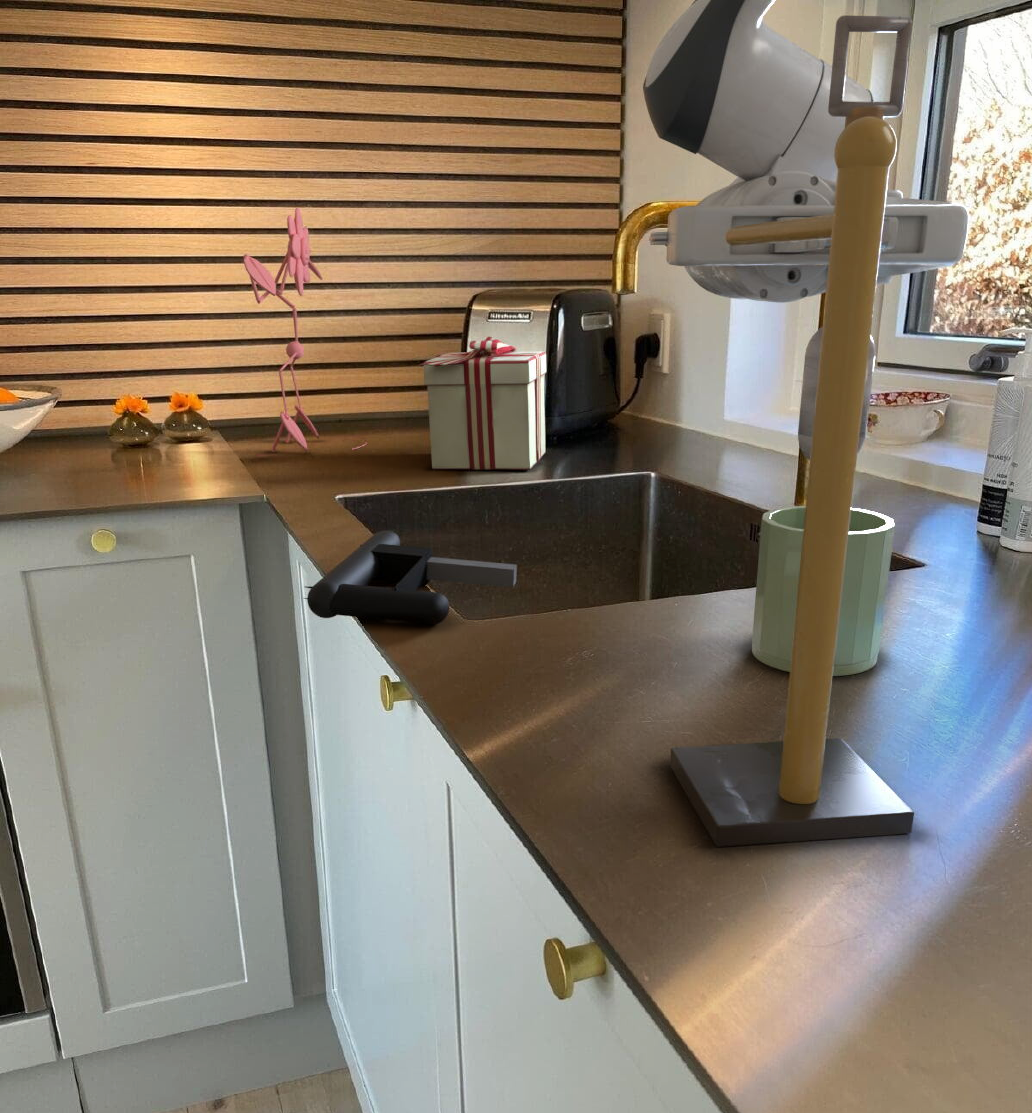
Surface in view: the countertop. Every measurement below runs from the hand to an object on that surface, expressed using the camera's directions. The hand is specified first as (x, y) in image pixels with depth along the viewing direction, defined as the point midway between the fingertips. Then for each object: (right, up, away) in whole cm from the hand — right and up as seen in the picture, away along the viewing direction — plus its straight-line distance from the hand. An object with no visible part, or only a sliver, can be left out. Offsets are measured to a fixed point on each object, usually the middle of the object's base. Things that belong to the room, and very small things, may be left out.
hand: (859, 232), depth 65 cm
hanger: (-8, -32, -4) cm, 33 cm away
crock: (0, -26, +11) cm, 28 cm away
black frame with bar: (-30, -20, +27) cm, 45 cm away
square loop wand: (0, -13, +6) cm, 15 cm away
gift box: (-27, +5, +88) cm, 92 cm away
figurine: (-53, +10, +103) cm, 116 cm away
